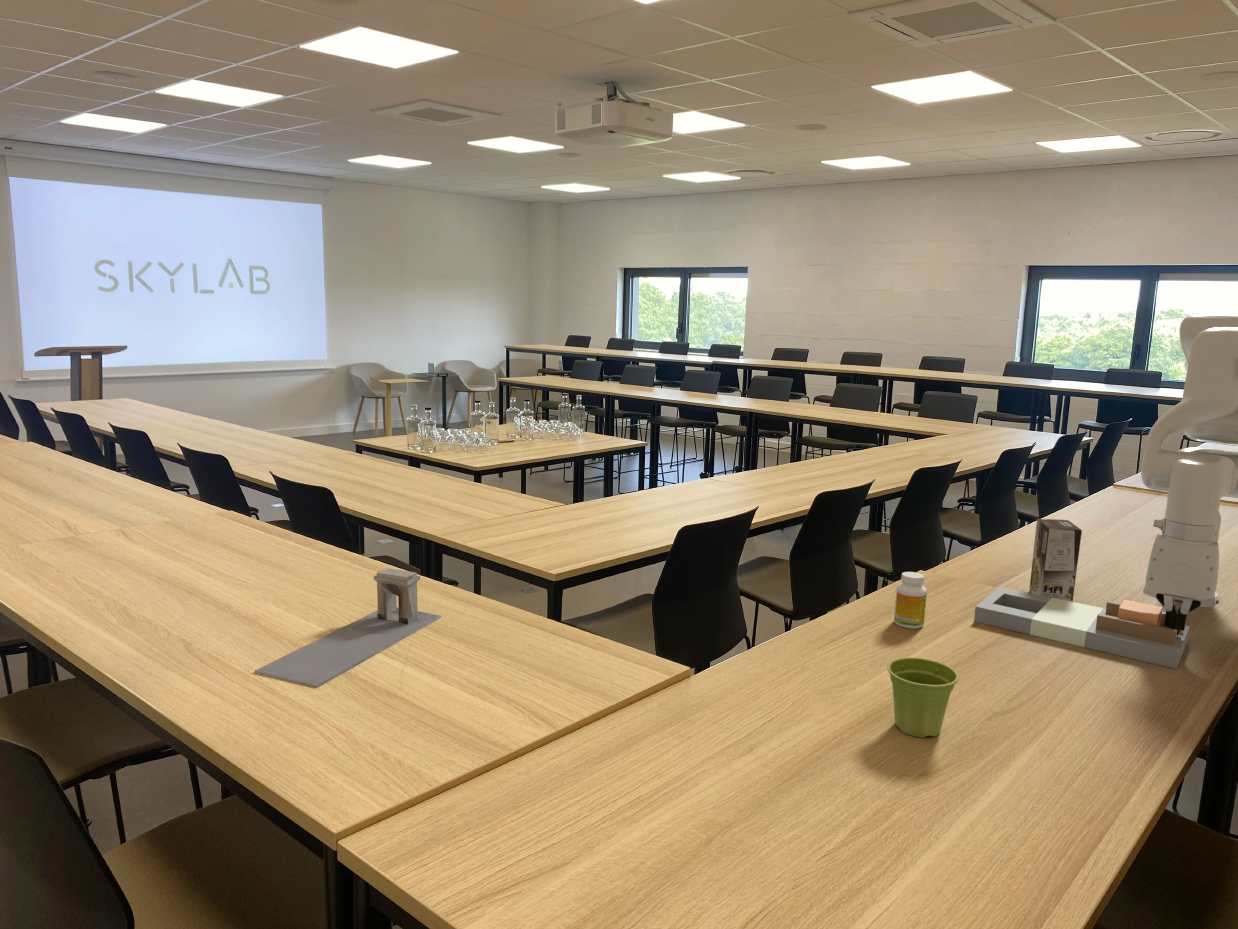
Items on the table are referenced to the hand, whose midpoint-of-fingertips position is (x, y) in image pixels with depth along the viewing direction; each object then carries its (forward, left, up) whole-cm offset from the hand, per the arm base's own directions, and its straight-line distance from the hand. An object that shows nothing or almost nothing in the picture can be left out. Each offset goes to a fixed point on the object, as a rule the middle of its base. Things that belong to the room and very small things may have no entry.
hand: (1173, 632), depth 151 cm
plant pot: (+58, -24, -4) cm, 63 cm away
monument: (+92, -109, -4) cm, 143 cm away
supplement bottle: (+18, -40, -4) cm, 44 cm away
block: (0, -5, -1) cm, 5 cm away
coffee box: (-17, -23, -4) cm, 29 cm away
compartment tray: (0, -15, -4) cm, 15 cm away
